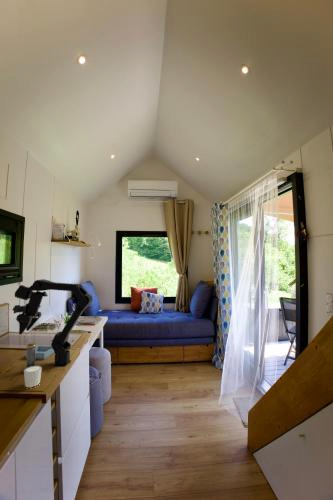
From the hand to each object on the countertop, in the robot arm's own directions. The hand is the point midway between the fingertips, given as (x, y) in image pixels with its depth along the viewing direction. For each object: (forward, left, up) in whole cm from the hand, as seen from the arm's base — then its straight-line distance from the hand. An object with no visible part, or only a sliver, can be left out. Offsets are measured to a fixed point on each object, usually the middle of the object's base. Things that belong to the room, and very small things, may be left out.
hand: (23, 332), depth 129 cm
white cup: (-18, +18, -17) cm, 31 cm away
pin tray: (-1, -14, -17) cm, 22 cm away
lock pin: (-8, +5, -17) cm, 19 cm away
